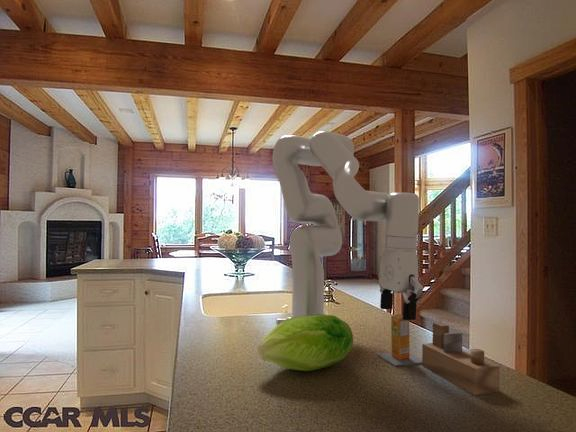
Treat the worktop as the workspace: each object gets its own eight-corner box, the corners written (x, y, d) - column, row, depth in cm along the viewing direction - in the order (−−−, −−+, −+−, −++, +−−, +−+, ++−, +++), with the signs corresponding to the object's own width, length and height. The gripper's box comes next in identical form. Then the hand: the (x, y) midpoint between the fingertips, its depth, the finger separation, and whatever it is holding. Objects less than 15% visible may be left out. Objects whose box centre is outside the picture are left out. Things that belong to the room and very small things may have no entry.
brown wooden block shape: (474, 395, 76) (475, 342, 76) (422, 365, 91) (422, 322, 91) (499, 391, 77) (499, 340, 78) (443, 363, 93) (444, 320, 93)
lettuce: (248, 366, 89) (249, 314, 89) (335, 353, 98) (335, 306, 98) (270, 389, 77) (271, 329, 77) (366, 372, 87) (367, 318, 87)
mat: (395, 366, 90) (395, 365, 90) (377, 355, 97) (377, 353, 97) (425, 363, 92) (425, 361, 92) (405, 352, 100) (405, 351, 100)
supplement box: (389, 356, 96) (390, 314, 96) (401, 354, 97) (401, 313, 97) (398, 360, 93) (399, 318, 93) (410, 358, 94) (410, 316, 94)
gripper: (369, 240, 103) (365, 305, 103) (408, 247, 86) (404, 325, 86) (394, 240, 105) (391, 304, 105) (437, 247, 88) (433, 323, 89)
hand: (397, 314), depth 96 cm, fingers open, 9 cm apart
